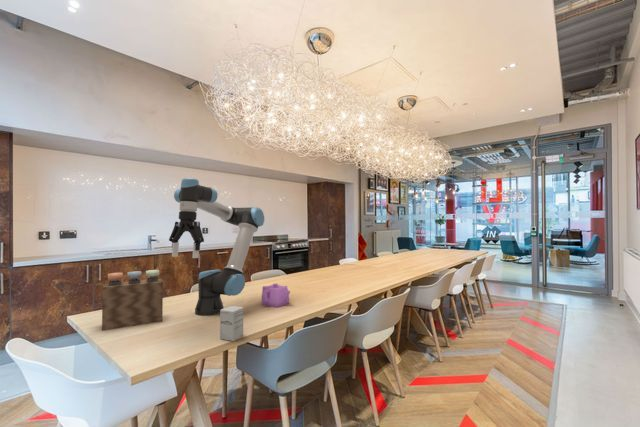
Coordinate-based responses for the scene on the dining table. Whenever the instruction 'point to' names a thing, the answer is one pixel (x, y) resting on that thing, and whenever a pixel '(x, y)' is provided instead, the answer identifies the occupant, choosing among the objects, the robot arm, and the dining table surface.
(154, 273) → the sage button
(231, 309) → the supplement box
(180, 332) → the dining table surface
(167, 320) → the dining table surface
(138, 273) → the slate button
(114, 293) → the button console
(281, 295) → the teakettle
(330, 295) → the dining table surface
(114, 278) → the terracotta button
